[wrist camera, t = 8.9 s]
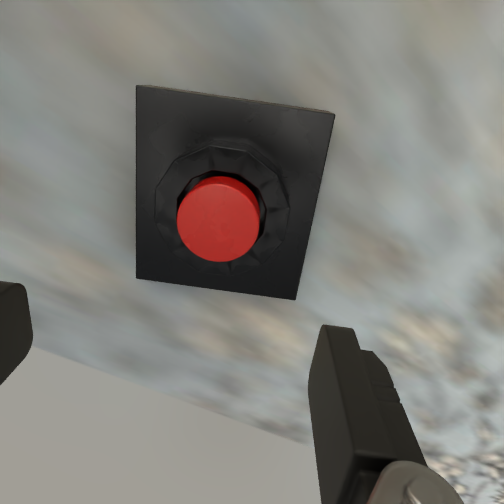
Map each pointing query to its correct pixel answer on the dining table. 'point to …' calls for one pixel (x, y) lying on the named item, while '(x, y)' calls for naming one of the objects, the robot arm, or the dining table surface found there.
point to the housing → (231, 165)
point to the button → (219, 219)
